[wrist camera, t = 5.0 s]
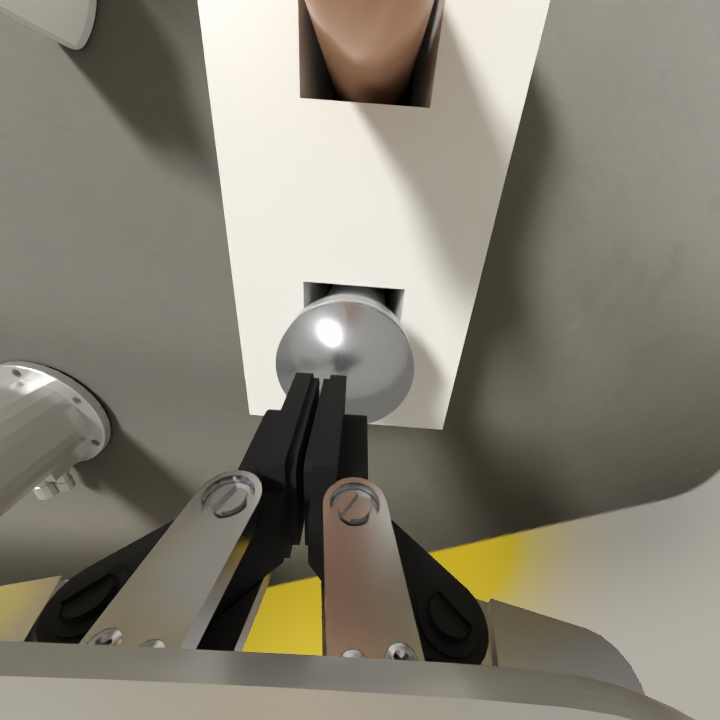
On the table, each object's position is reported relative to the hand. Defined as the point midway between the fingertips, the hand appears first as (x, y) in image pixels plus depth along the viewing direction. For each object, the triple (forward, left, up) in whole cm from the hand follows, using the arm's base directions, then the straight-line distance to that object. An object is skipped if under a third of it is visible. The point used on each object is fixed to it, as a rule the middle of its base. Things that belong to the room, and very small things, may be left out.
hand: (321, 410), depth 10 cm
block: (+6, -1, -17) cm, 18 cm away
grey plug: (0, -1, -16) cm, 16 cm away
